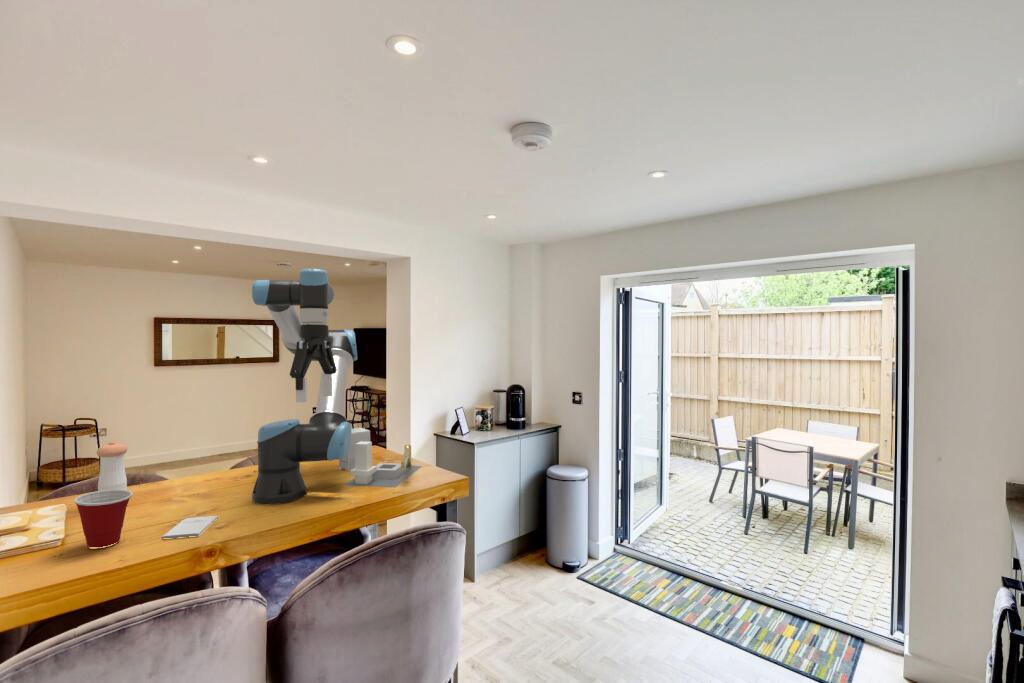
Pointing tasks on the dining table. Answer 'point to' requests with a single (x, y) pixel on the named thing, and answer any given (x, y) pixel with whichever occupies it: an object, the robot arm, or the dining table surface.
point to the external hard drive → (190, 527)
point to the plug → (363, 463)
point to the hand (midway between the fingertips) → (315, 399)
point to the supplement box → (356, 437)
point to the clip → (406, 457)
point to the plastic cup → (103, 515)
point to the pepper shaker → (112, 467)
